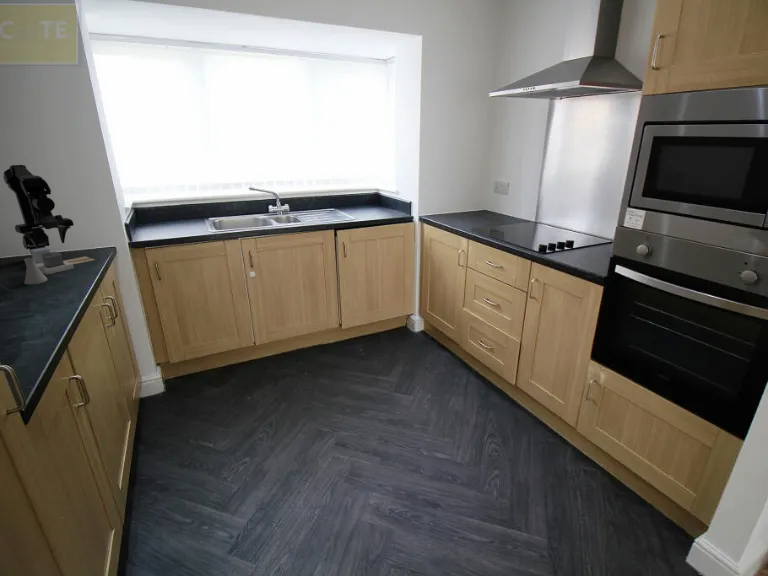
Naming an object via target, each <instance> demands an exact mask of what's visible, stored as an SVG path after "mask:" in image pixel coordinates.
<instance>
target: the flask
mask: <svg viewBox="0 0 768 576" xmlns="http://www.w3.org/2000/svg"><path fill="white" fill-rule="evenodd" d="M23 261H24V262H26V263H25V266H26V271H25V276H24V277H25V278H24V285H38V284H41V283H45V282H48V280H49V278H48V277H47V276H46V274H44V273H42V272H41V271H40V269H39V268H38V267H37V265H36V263H35V258H32V257H27V258H24V259H23Z"/></svg>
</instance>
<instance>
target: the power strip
mask: <svg viewBox="0 0 768 576" xmlns="http://www.w3.org/2000/svg"><path fill="white" fill-rule="evenodd" d="M24 262H25V261H24ZM63 262H64V265H62V266H57V267H52V268H48V267H46V266H45V265H44V261H43V263H36V262H35V263H36V265H37V267H38V268H39V269H40V271H41V272H42V273H43V274H44V275H51V274H55V273H60V272H65V271H69V270H73V269H74V268H75V267H74V264H71V263H69V262H66V261H65V260H63ZM25 264H26V262H25Z"/></svg>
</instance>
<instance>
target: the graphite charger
mask: <svg viewBox="0 0 768 576" xmlns="http://www.w3.org/2000/svg"><path fill="white" fill-rule="evenodd" d="M41 255H42V258H43V261H44V265H45V266H46V267H48V268H52V267H57V266H62V265H64V262H63V261H64V260H63V256H62V253H60V252H58V251H50V252H49V253H44V254H41Z"/></svg>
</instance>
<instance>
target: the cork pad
mask: <svg viewBox="0 0 768 576" xmlns="http://www.w3.org/2000/svg"><path fill="white" fill-rule="evenodd" d="M95 260H96V259H94V258H91V257H89V256H80V257H75V258H72V259H71V258H70V259H65V260H64V261H66V262H69V263H71V264H73V265H76V264H77V265H78V264H81V263H87V262H91V261H95Z"/></svg>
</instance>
